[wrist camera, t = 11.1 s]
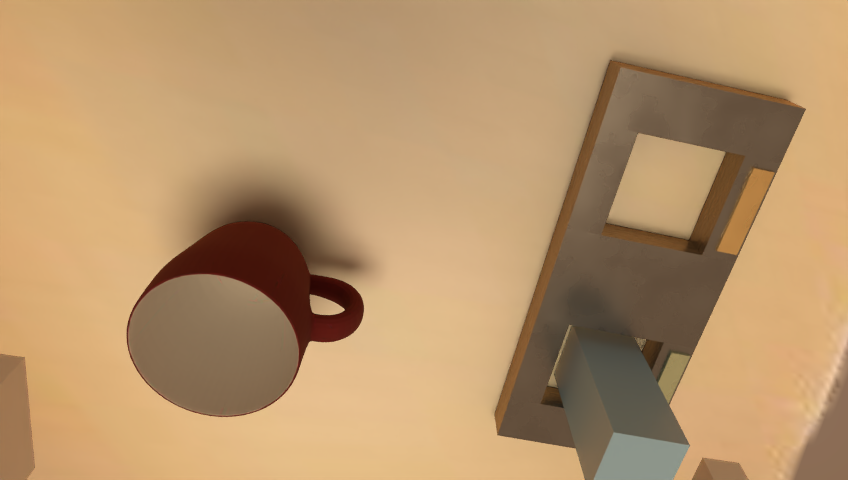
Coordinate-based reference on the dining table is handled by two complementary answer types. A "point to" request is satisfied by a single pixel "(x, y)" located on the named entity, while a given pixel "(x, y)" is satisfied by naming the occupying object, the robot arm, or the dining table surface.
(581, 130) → the dining table surface
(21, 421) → the robot arm
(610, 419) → the plug
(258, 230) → the mug
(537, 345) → the panel
